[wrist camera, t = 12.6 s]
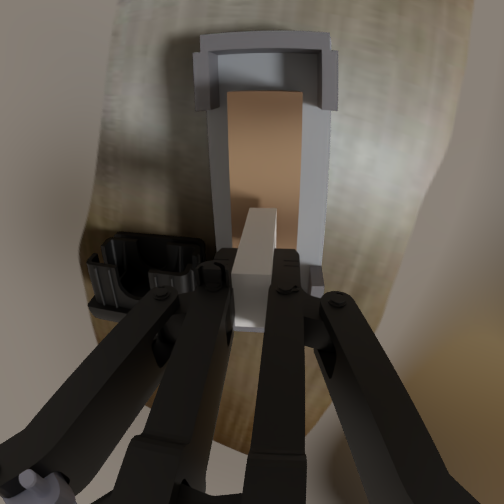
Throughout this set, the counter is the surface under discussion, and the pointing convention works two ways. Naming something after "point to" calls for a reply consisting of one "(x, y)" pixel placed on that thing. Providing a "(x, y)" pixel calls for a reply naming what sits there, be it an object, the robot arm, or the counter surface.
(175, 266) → the end cap
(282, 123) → the wooden block
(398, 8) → the counter surface
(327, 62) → the holder
